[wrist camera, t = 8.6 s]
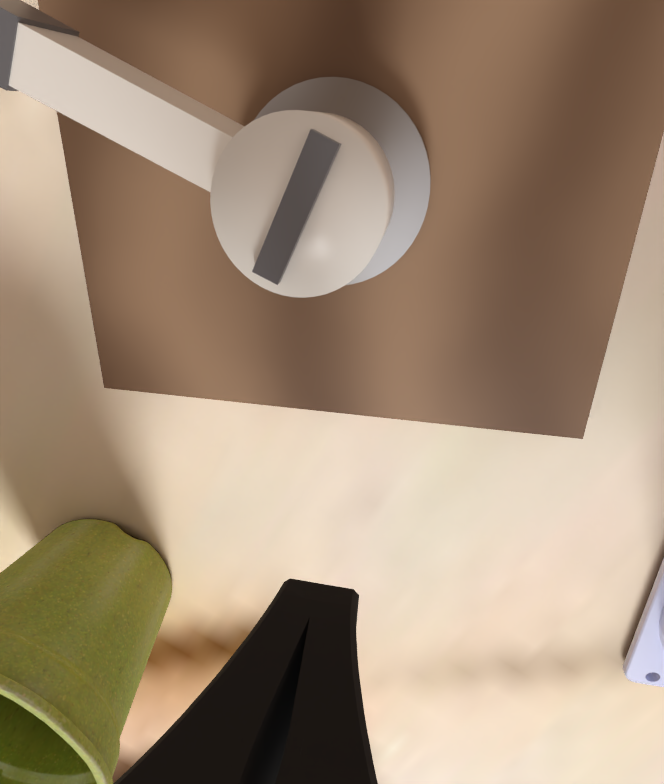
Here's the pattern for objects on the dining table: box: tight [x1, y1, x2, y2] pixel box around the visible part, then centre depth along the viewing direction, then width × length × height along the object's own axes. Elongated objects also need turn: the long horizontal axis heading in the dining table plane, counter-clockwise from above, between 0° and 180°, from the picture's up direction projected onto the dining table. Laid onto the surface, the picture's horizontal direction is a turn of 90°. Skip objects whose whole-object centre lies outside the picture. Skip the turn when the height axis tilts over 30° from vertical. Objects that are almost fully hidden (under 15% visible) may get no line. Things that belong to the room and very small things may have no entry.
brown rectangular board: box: [38, 0, 664, 439], centre depth 15 cm, size 16×14×3 cm
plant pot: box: [0, 519, 172, 784], centre depth 21 cm, size 9×9×9 cm
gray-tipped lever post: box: [0, 0, 395, 298], centre depth 12 cm, size 4×10×3 cm, turn 65°
